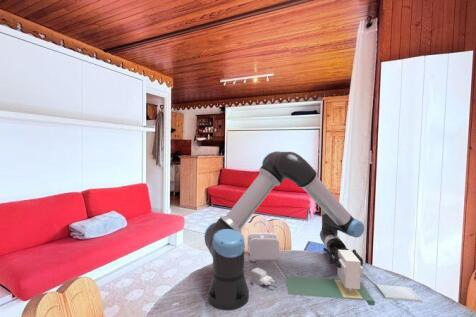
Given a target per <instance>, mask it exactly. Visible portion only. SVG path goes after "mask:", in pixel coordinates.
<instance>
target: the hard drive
mask: <svg viewBox="0 0 476 317" xmlns="http://www.w3.org/2000/svg"><path fill="white" fill-rule="evenodd" d="M375 288H376V289H377V291H378V292H379V293H380V294H381V296H382V297H383V298H384V300H391V301H404V302H412V301H415V303H423V299H422V298H421V296H419V295H418V294H417V293H416V292H415V291H414V290H413V289H412V288H411V287H408V286H407V287H406V286H398V285H397V286H396V285H384V284H375Z"/></svg>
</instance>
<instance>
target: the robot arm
mask: <svg viewBox="0 0 476 317" xmlns="http://www.w3.org/2000/svg"><path fill="white" fill-rule="evenodd" d="M258 171H259V174H258V176H256V178H254V180H253V182H252V183H251V184H250V186H249V187H248V188H247V189H246V190H245V192H243V194H242V195H241V197H240V198H239V199H238V201H236V203H235V204H234V205H233V207H232V208H231V209H230V210H229V212H228V213H226V215H224V216H223V215H222V216H220V217H219V219H217V221H215V222H212V223H211V224H209V226H208V227H207V228H206V229H205V231H204V242H205V246H206V247H207V250H208V251H209V253H210V255H211V257H212V277H211V280H210V283H209V287H208V290H207V299H208V302H209V304H211V306H213V307H215V308H217V309H220V310H225V311H226V310H227V311H228V310H229V311H230V310H235V309H239V308H241V307H243V306H245V305H246V304H247V302H248V301H249V299H250V298H249V296H250V290H249V286H248V284H247V281H246V277H245V250H246V249H245V248H246V242H245V238H244V235H243V234H242V228H243V227H244V226H245V225H246V223H247V222H248V221H249V220H250V218H251V217H252V215H253V214H254V213H255V212H256V211H257V209H258V208H259V207H260V206H261V204H262V203H263V201H264V200H265V199H266V198H267V196H268V195H269V194H270V193H271V192H272V190H273V189H274V188H275V187H277V186H280V185H281V184H282V183H283V182H284V180H286V179H287V180H289V181H290V182H292V183H294V184H295V185H296V186H297V187H298V188H300V189H303V190H304V191H305V192H306V193H307V194H308V196H309V197H310V198H311V199H312V200H313V201H314V202H315V204H317V206H319V208H321V229H320V232H319V236H320V240H321V242H322V243H323V244H324V246H325V247H324V248H323V255H324V256H326V259H327V260H328V262H329V264H331V265H334V267H335V268H337V269H338V268H340V269H341V270H342V272H343V274H345V275H346V266H345V265H344V263H343V262H342V260H341V259H339V260H338V250H350V249H348V248H347V246H346V245H345V243H344V242H343V241H342V240H341V238H340V236H338V235H339V234H338V232H341V233H343V234H345V235H348V236H349V237H353V238H359V237H361V236H362V235H363V234H364V233H365V225H364V223H363V222H362V220H359V219H357V218H355V217H353V216H352V215H351V213H349V212H348V210H347V209H346V208H345V207H344V206H343V204H341V202H340V201H339V200H338V199H337V198H336V196H334V194H333V193H332V192H331V191H330V189H329V188H327V186H326V185H325V184H324V183H323V182H322V181H321V180H320V178H319V177H318V174H317V172H318V171H316V170H315V169H314V167H313V166H312V165H311V164H310V163H309V162H308V161H307V160H306V159H305V158H303V157H302V156H301V155H300V154H298V153H296V152H293V151H273V152H269V153H268V154H266V156H265V157H264V158H263V160H262V165H261V166H260V168H259V170H258ZM351 251H352V252H353V253H354V255H355V256H356V257H357V258H358V259H359V260H360V262H361V266H360V277H361V276H364V268H363V266H364V258H362V257H361V255H359V253H357V250H356V249H352V250H351Z"/></svg>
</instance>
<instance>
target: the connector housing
mask: <svg viewBox="0 0 476 317" xmlns="http://www.w3.org/2000/svg"><path fill="white" fill-rule="evenodd" d="M339 259H341V260H342V262H343V263H344V265H345V266H346V275H345V274H343V272H342V270H341V269H340V268H338V267H337V276H338V277H339V280H341V281H342V283H343V284H344V286H345V288H353V289H360V281H361V275H360V266H361V262H360V260H359V259H358V258H357V257H356V256H355V255H354V253H353V252H352V250H350V249H349V250H338V260H339Z"/></svg>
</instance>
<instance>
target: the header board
mask: <svg viewBox="0 0 476 317" xmlns="http://www.w3.org/2000/svg"><path fill="white" fill-rule="evenodd" d="M285 282H286V288H287V289H286V290H287V294H288V295H294V296H303V297H304V296H306V297H316V298H317V297H319V298H332V299H342V300H343V299H344V300H354V301H355V300H356V301H357V300H358V301H365V302H366V303H367V305H370V306H375V303H376V301H375V299H374V298H373V296H372V295H371V293H370V292H369V291H368V290H367V288H366V287H365V285H364V283H363V282H362V281H361V280H360V289H353V288H345V286H344V284H343V283H342V281H341V279H340V278H339V279H338V278H324V277H322V278H321V277H307V276H294V275H293V276H292V275H285Z"/></svg>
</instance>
